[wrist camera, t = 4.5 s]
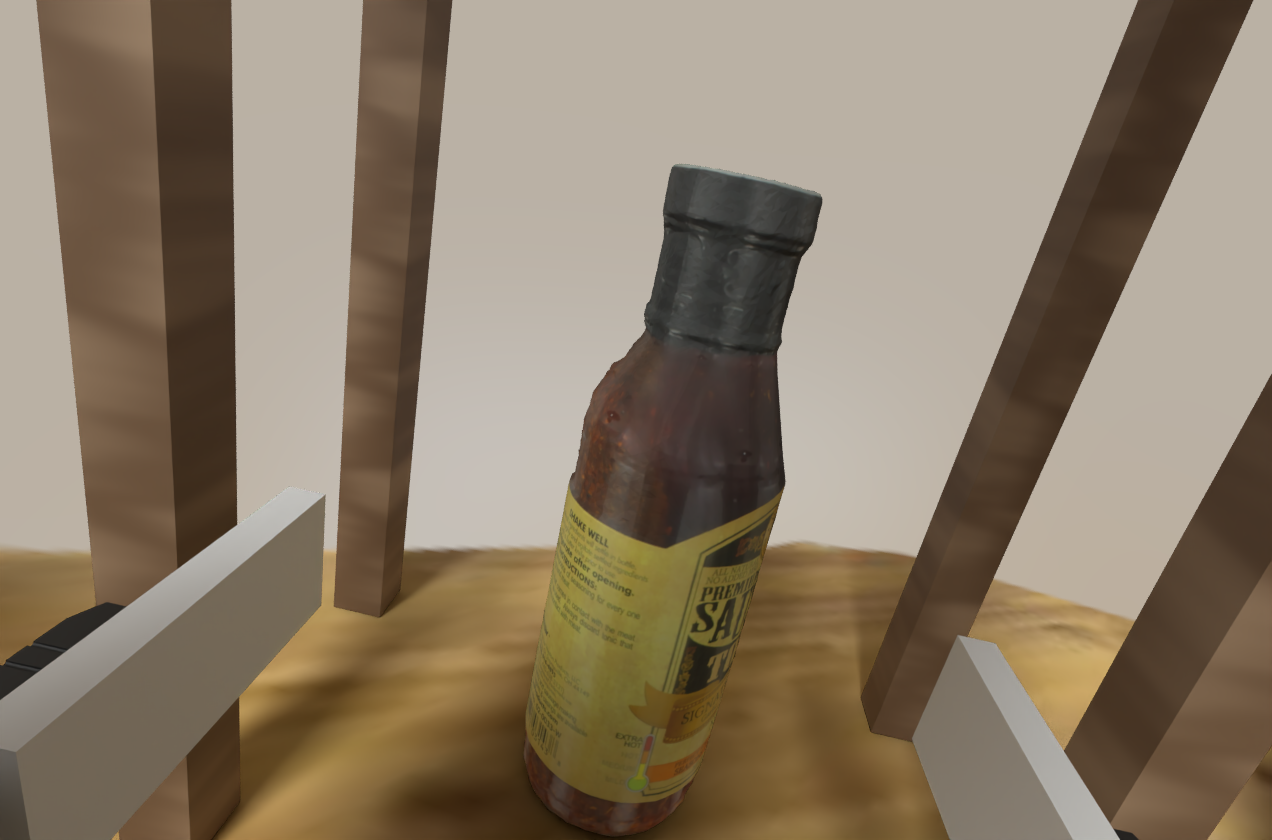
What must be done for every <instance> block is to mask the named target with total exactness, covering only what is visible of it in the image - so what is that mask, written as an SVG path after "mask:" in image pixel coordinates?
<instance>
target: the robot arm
mask: <svg viewBox="0 0 1272 840" xmlns="http://www.w3.org/2000/svg"><path fill="white" fill-rule="evenodd" d="M324 518H325V494H321V493H317V492H312V491H308V490H303V489H299V488H295V487H290V486H289V487H288V488H286V489H285V490H284V491H282V492H281V493H280V494H279V495H277V496H276V497H274V498H273V499H272V500H270V501H269V502H268V503H266V504H265V505H264V506H262V507H261V508H259V509H258V510H257V511H255V512H254V513H253V514H251V515H250V516H249V517H247V518H246V519H245V520H243V521H242V522H240V523H239V524H238V525H236V526H235V527H234V528H232V529H231V530H230V531H228V532H227V533H226V534H224V535H223V536H222V537H220V538H219V539H217V540H216V541H215V542H213V543H212V544H211V545H209V546H208V547H207V548H205V549H204V550H203V551H201V552H200V553H199V554H197V555H196V556H194V557H193V558H192V559H190V560H189V561H188V562H186V563H185V564H184V565H182V566H181V567H180V568H178V569H177V570H176V571H174V572H173V573H171V574H170V575H169V576H167V577H166V578H165V579H163V580H162V581H161V582H159V583H158V584H157V585H155V586H154V587H153V588H151V589H150V590H149V591H147V592H146V593H144V594H143V595H142V596H140V597H139V598H138V599H136V600H135V601H134V602H132V603H131V604H130V605H128V606H123V605H118V604H114V603H109V602H105V603H103V604H101V605H98V606H96V607H93V608H91V609H88V610H86V611H84V612H81V613H79V614H76V615H74V616H71V617H69V618H67V619H65V620H64V621H62V622H61V623H59V624H58V625H56V626H55V627H53V628H52V629H51V630H49V631H48V632H46V633H45V634H43V635H42V636H40V637H39V638H38V639H36V640H35V641H34V643H33V645H32V646H26V647H24V648H23V649H22V650H20V651H19V652H17V653H16V654H14V655H13V656H11V657H10V658H8V659H7V660H6V663H5V664H4V665H3V666H1V665H0V840H111V839H112V838H113V837H114V835H115V834H116V833H117V832H118V831H119V830H120V829H121V828H122V827H123V825H124V824H125V823H126V822H127V821H128V820H129V819H130V818H131V817H132V815H133V814H134V813H135V812H136V811H137V810H138V809H139V808H140V807H141V805H142V804H143V803H144V802H145V801H146V800H147V799H148V798H149V796H150V795H151V794H152V793H153V792H154V791H155V790H156V789H157V788H158V786H159V785H160V784H161V783H162V782H163V781H164V780H165V779H166V778H167V776H168V775H169V774H170V773H171V772H172V771H173V770H174V769H175V768H176V766H177V765H178V764H179V763H180V762H181V761H182V760H183V759H184V757H185V756H186V755H187V754H188V753H189V752H190V751H191V750H192V749H193V747H194V746H195V745H196V744H197V743H198V742H199V741H200V740H201V739H202V737H203V736H204V735H205V734H206V733H207V732H208V731H209V730H210V729H211V727H212V726H213V725H214V724H215V723H216V722H217V721H218V720H219V719H220V717H221V716H222V715H223V714H224V713H225V712H226V711H227V710H228V708H229V707H230V706H231V705H232V704H233V703H234V702H235V701H236V700H237V698H238V697H239V696H240V695H241V694H242V693H243V692H244V691H245V690H246V688H247V687H248V686H249V685H250V684H251V683H252V682H253V681H254V680H255V678H256V677H257V676H258V675H259V674H260V673H261V672H262V671H263V669H264V668H265V667H266V666H267V665H268V664H269V663H270V662H271V661H272V659H273V658H274V657H275V656H276V655H277V654H278V653H279V652H280V651H281V649H282V648H283V647H284V646H285V645H286V644H287V643H288V642H289V641H290V639H291V638H292V637H293V636H294V635H295V634H296V633H297V632H298V631H299V629H300V628H301V627H302V626H303V625H304V624H305V623H306V622H307V620H308V619H309V618H310V617H311V616H312V615H313V614H314V613H315V612H316V610H317V609H318V608H319V607H320V606H321V597H322V571H323V545H324ZM912 741H913V743H914V746H915V749H916V751H917V754H918V756H919V759H920V762H921V764H922V767H923V770H924V772H925V775H926V778H927V780H928V783H929V786H930V788H931V791H932V794H933V796H934V799H935V802H936V804H937V807H938V810H939V812H940V815H941V818H942V820H943V823H944V826H945V828H946V831H947V834H948V836H949V839H950V840H1139V839H1138V838H1137V837H1136V836H1135V835H1134V834H1133V833H1131V832H1126V831H1122V830H1117V829H1113V828H1112V826H1111V825H1110V823H1109V822H1108V820H1107V818H1106V817H1105V815H1104V814H1103V812H1102V811H1101V809H1100V807H1099V806H1098V804H1097V803H1096V801H1095V800H1094V798H1093V796H1092V795H1091V793H1090V792H1089V790H1088V789H1087V787H1086V785H1085V784H1084V782H1083V781H1082V779H1081V778H1080V776H1079V774H1078V773H1077V771H1076V770H1075V768H1074V766H1073V765H1072V763H1071V762H1070V760H1069V759H1068V757H1067V755H1066V754H1065V752H1064V751H1063V749H1062V748H1061V746H1060V744H1059V743H1058V741H1057V740H1056V738H1055V737H1054V735H1053V733H1052V732H1051V730H1050V729H1049V727H1048V726H1047V724H1046V722H1045V721H1044V719H1043V718H1042V716H1041V715H1040V713H1039V711H1038V710H1037V708H1036V707H1035V705H1034V703H1033V702H1032V700H1031V699H1030V697H1029V696H1028V694H1027V692H1026V691H1025V689H1024V688H1023V686H1022V685H1021V683H1020V681H1019V680H1018V678H1017V677H1016V675H1015V674H1014V672H1013V670H1012V669H1011V667H1010V666H1009V664H1008V663H1007V661H1006V659H1005V658H1004V656H1003V655H1002V653H1001V651H1000V650H999V648H998V647H997V645H996V644H995V643H992V642H987V641H983V640H978V639H974V638H969V637H965V636H960V635H957V638H956V640H955V642H954V644H953V647H952V649H951V651H950V653H949V656H948V658H947V660H946V663H945V665H944V667H943V669H942V672H941V674H940V676H939V678H938V681H937V683H936V685H935V687H934V690H933V692H932V694H931V696H930V699H929V701H928V703H927V705H926V708H925V710H924V712H923V714H922V717H921V719H920V721H919V724H918V726H917V728H916V730H915V733H914V735H913V737H912Z"/></svg>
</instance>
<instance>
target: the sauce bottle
mask: <svg viewBox="0 0 1272 840" xmlns="http://www.w3.org/2000/svg"><path fill="white" fill-rule="evenodd" d="M821 206H822V197H821V195H820V194H819V193H817V192H815V191H810V190H805V189H802V188H799V187H796V186H792V185H788V184H786V183H781V182H778V181H775V180H767V179H764V178H760V177H755V176H750V175H746V174H739V173H735V172H730V171H725V170H721V169H712V168H708V167H701V166H696V165H689V164H676V165H674V166H673V167H672V169H671V173H670V177H669V181H668V187H667V192H666V197H665V203H664V209H663V216H664V240H663V244H662V249H661V254H660V258H659V264H658V269H657V273H656V277H655V282H654V287H653V290H652V296H651V299H650V301H649V302H648V303H647V305H646V309H645V313H644V317H645V320H644V322H645V325H646V329H645V332H644V333H643V335H642V336H641V337H640V338H639V339H638V340H637V341H636V342H635V343H634V344H633V346H632V348H631V349H630V350H629V352H628V353H627V355H626V356H625V357H624V358H622V359H621V360H619V361H617V362H614V363H613V364H612V365H611V367H610V370H609V371H607V373H606V375H605V377H604V378H603V379H602V380H601V382H600V383H599V385H598V386H597V387H596V389H595V390H594V392H593V395H592V399H591V402H590V406H589V408H588V410H587V412H586V415H585V418H584V424H583V430H582V438H581V446H580V450H579V457H578V461H577V466H576V471H575V472H574V473H573V474H572V476H571V478H570V481H569V485H568V491H567V496H566V502H565V507H564V512H563V517H562V522H561V527H560V533H559V538H558V543H557V548H556V554H555V559H554V564H553V570H552V575H551V581H550V586H549V591H548V596H547V601H546V606H545V611H544V617H543V623H542V628H541V633H540V637H539V642H538V647H537V653H536V658H535V664H534V669H533V675H532V680H531V686H530V692H529V697H528V703H527V709H526V732H525V742H524V760H525V762H526V768H527V772H528V776H529V781H530V783H531V786H532V787H533V789H534V791H535V793H536V794H537V795H538V796H539V798H540V799H541V800H542V801H543V803H544V805H545V806H546V807H547V809H549V810H550V811H552V812H553V813H555V814H557V815H558V816H559V817H560V818H562V819H563V820H564V821H565V822H566V823H570V824H573V825H575V826H578V827H580V828H582V829H584V830H586V831H591V832H595V833H598V834H601V835H606V836H624V835H632V834H635V833H640V832H643V831H647V830H649V829H650V828H652V827H654V826H656V825H657V824H659V823H660V822H662V821H663V820H665V818H666V817H668V816H669V815H670V814H671V813H673V812H674V811H675V809H676V808H677V806H679V805H680V804H681V803H682V802H683V800H684V796H685V793H686V792H687V790H688V788H689V787H690V785H691V784H692V782H693V778H694V776H695V775H696V773H697V771H698V770H699V768H700V765H701V763H702V760H703V757H704V753H705V750H706V747H707V743H708V740H709V737H710V733H711V730H712V727H713V724H714V721H715V717H716V714H717V711H718V708H719V704H720V701H721V698H722V694H723V691H724V687H725V684H726V680H727V677H728V674H729V671H730V668H731V664H732V661H733V659H734V657H735V652H736V648H737V645H738V642H739V638H740V634H741V630H742V628H743V625H744V622H745V617H746V614H747V612H748V609H749V605H750V602H751V599H752V595H753V592H754V588H755V584H756V582H757V578H758V574H759V570H760V567H761V564H762V560H763V557H764V554H765V550H766V547H767V544H768V540H769V537H770V533H771V530H772V527H773V524H774V521H775V518H776V514H777V510H778V506H779V503H780V499H781V496H782V493H783V490H784V486H785V472H784V462H783V451H782V436H781V422H780V421H781V420H780V405H779V390H778V376H777V351H778V348H779V346H780V345H781V343H782V340H781V333H782V326H783V322H784V318H785V315H786V310H787V308H788V303H789V299H790V296H791V293H792V291H793V288H794V282H795V277H796V274H797V269H798V266H799V263H800V260H801V257H802V256H803V255H804V253H805V252H806V251H807V250H808V248H809V247H810V246H811V245H812V243H813V240H814V236H815V232H816V229H817V222H818V217H819V213H820V209H821Z"/></svg>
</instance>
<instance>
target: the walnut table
mask: <svg viewBox="0 0 1272 840" xmlns="http://www.w3.org/2000/svg"><path fill="white" fill-rule="evenodd" d="M36 1H37V11H38V21H39V32H40V42H41V52H42V62H43V72H44V82H45V92H46V102H47V112H48V122H49V132H50V142H51V153H52V162H53V173H54V182H55V192H56V202H57V213H58V223H59V233H60V243H61V253H62V263H63V273H64V284H65V293H66V303H67V313H68V323H69V334H70V344H71V354H72V364H73V374H74V384H75V395H76V404H77V415H78V425H79V435H80V445H81V455H82V465H83V475H84V485H85V496H86V505H87V515H88V526H89V535H90V546H91V556H92V566H93V576H94V586H95V596H96V606H98V605H101V604H103V603H105V602H109V603H114V604H118V605H123V606H128V605H130V604H131V603H132V602H134V601H135V600H136V599H138V598H139V597H140V596H142V595H143V594H144V593H146V592H147V591H149V590H150V589H151V588H153V587H154V586H155V585H157V584H158V583H159V582H161V581H162V580H163V579H165V578H166V577H167V576H169V575H170V574H171V573H173V572H174V571H176V570H177V569H178V568H180V567H181V566H182V565H184V564H185V563H186V562H188V561H189V560H190V559H192V558H193V557H194V556H196V555H197V554H199V553H200V552H201V551H203V550H204V549H205V548H207V547H208V546H209V545H211V544H212V543H213V542H215V541H216V540H217V539H219V538H220V537H222V536H223V535H224V534H226V533H227V532H228V531H230V530H231V529H232V528H234V527H235V526H236V525H237V473H236V472H237V468H236V381H235V379H236V377H235V295H234V294H235V291H234V290H235V288H234V206H233V205H234V200H233V117H232V115H233V114H232V113H233V110H232V26H231V25H232V24H231V0H36ZM1252 2H1253V0H1138V2H1137V5H1136V7H1135V10H1134V12H1133V15H1132V17H1131V20H1130V22H1129V25H1128V27H1127V30H1126V32H1125V35H1124V37H1123V40H1122V42H1121V45H1120V47H1119V50H1118V53H1117V55H1116V58H1115V60H1114V63H1113V65H1112V68H1111V70H1110V72H1109V75H1108V77H1107V80H1106V83H1105V85H1104V88H1103V90H1102V93H1101V95H1100V98H1099V100H1098V103H1097V105H1096V108H1095V110H1094V113H1093V115H1092V118H1091V120H1090V123H1089V125H1088V128H1087V130H1086V133H1085V135H1084V138H1083V140H1082V143H1081V145H1080V148H1079V150H1078V153H1077V155H1076V158H1075V161H1074V163H1073V165H1072V168H1071V170H1070V173H1069V176H1068V178H1067V181H1066V183H1065V186H1064V188H1063V191H1062V193H1061V196H1060V198H1059V201H1058V203H1057V206H1056V208H1055V211H1054V213H1053V216H1052V218H1051V221H1050V223H1049V226H1048V228H1047V231H1046V233H1045V236H1044V239H1043V241H1042V243H1041V246H1040V248H1039V251H1038V253H1037V256H1036V258H1035V261H1034V264H1033V266H1032V269H1031V271H1030V274H1029V276H1028V279H1027V281H1026V284H1025V286H1024V289H1023V291H1022V294H1021V296H1020V299H1019V301H1018V304H1017V306H1016V309H1015V311H1014V314H1013V316H1012V319H1011V321H1010V324H1009V326H1008V329H1007V332H1006V334H1005V337H1004V339H1003V341H1002V344H1001V347H1000V349H999V351H998V354H997V356H996V359H995V362H994V364H993V367H992V369H991V372H990V374H989V377H988V379H987V382H986V384H985V387H984V390H983V392H982V394H981V397H980V399H979V402H978V405H977V407H976V409H975V412H974V414H973V417H972V420H971V422H970V424H969V427H968V429H967V432H966V434H965V437H964V439H963V442H962V445H961V447H960V449H959V452H958V455H957V457H956V460H955V462H954V465H953V467H952V470H951V472H950V475H949V477H948V480H947V482H946V485H945V487H944V490H943V492H942V495H941V497H940V500H939V502H938V505H937V508H936V510H935V512H934V515H933V518H932V520H931V522H930V525H929V527H928V530H927V532H926V535H925V538H924V540H923V543H922V545H921V548H920V550H919V553H918V555H917V558H916V560H915V563H914V565H913V568H912V570H911V573H910V575H909V578H908V580H907V583H906V585H905V588H904V590H903V593H902V595H901V598H900V600H899V603H898V605H897V608H896V610H895V613H894V615H893V618H892V620H891V623H890V625H889V628H888V630H887V633H886V635H885V638H884V640H883V643H882V646H881V648H880V651H879V653H878V656H877V658H876V661H875V663H874V666H873V668H872V671H871V673H870V676H869V678H868V681H867V683H866V686H865V688H864V691H863V693H862V696H861V700H862V703H863V706H864V710H865V713H866V716H867V720H868V723H869V727H870V730H871V732H873V733H877V734H881V735H885V736H890V737H894V738H898V739H903V740H907V741H911V742H913V741H912V737H913V735H914V733H915V730H916V728H917V726H918V724H919V721H920V719H921V717H922V714H923V712H924V710H925V708H926V705H927V703H928V701H929V699H930V696H931V694H932V692H933V690H934V687H935V685H936V683H937V681H938V678H939V676H940V674H941V672H942V669H943V667H944V665H945V663H946V660H947V658H948V656H949V653H950V651H951V649H952V647H953V644H954V642H955V640H956V638H957V635H960V636H965V637H967V636H968V633H969V631H970V629H971V627H972V625H973V622H974V620H975V618H976V616H977V613H978V611H979V609H980V607H981V605H982V602H983V600H984V598H985V596H986V593H987V591H988V589H989V587H990V585H991V582H992V580H993V578H994V575H995V573H996V571H997V569H998V567H999V565H1000V562H1001V560H1002V557H1003V556H1004V553H1005V551H1006V549H1007V546H1008V544H1009V542H1010V540H1011V538H1012V536H1013V533H1014V531H1015V529H1016V526H1017V524H1018V522H1019V520H1020V518H1021V516H1022V513H1023V511H1024V509H1025V507H1026V505H1027V502H1028V500H1029V498H1030V495H1031V493H1032V491H1033V489H1034V487H1035V485H1036V482H1037V480H1038V478H1039V475H1040V473H1041V471H1042V469H1043V467H1044V464H1045V462H1046V460H1047V458H1048V456H1049V453H1050V451H1051V449H1052V447H1053V444H1054V442H1055V440H1056V438H1057V435H1058V433H1059V431H1060V429H1061V427H1062V424H1063V422H1064V420H1065V418H1066V416H1067V413H1068V411H1069V409H1070V407H1071V404H1072V402H1073V400H1074V398H1075V395H1076V393H1077V391H1078V389H1079V387H1080V384H1081V382H1082V380H1083V378H1084V376H1085V373H1086V371H1087V369H1088V367H1089V364H1090V362H1091V360H1092V358H1093V356H1094V353H1095V351H1096V349H1097V346H1098V344H1099V342H1100V340H1101V338H1102V336H1103V333H1104V331H1105V329H1106V327H1107V324H1108V322H1109V320H1110V318H1111V316H1112V313H1113V311H1114V309H1115V307H1116V304H1117V302H1118V300H1119V298H1120V295H1121V293H1122V291H1123V289H1124V287H1125V284H1126V282H1127V280H1128V278H1129V275H1130V273H1131V271H1132V269H1133V267H1134V264H1135V262H1136V260H1137V258H1138V255H1139V253H1140V251H1141V249H1142V247H1143V244H1144V242H1145V240H1146V238H1147V235H1148V233H1149V231H1150V229H1151V227H1152V224H1153V222H1154V220H1155V218H1156V215H1157V213H1158V211H1159V209H1160V207H1161V204H1162V202H1163V200H1164V198H1165V195H1166V193H1167V191H1168V189H1169V186H1170V184H1171V182H1172V180H1173V178H1174V175H1175V173H1176V171H1177V169H1178V167H1179V164H1180V162H1181V160H1182V157H1183V155H1184V153H1185V151H1186V149H1187V146H1188V144H1189V142H1190V140H1191V138H1192V135H1193V133H1194V131H1195V129H1196V127H1197V124H1198V122H1199V120H1200V118H1201V115H1202V113H1203V111H1204V109H1205V106H1206V104H1207V102H1208V100H1209V98H1210V95H1211V93H1212V91H1213V89H1214V86H1215V84H1216V82H1217V80H1218V78H1219V75H1220V73H1221V71H1222V69H1223V67H1224V64H1225V62H1226V60H1227V57H1228V55H1229V53H1230V51H1231V49H1232V46H1233V44H1234V42H1235V40H1236V38H1237V35H1238V33H1239V31H1240V29H1241V26H1242V24H1243V22H1244V20H1245V17H1246V15H1247V13H1248V11H1249V9H1250V6H1251V4H1252ZM451 8H452V0H363V15H362V37H361V57H360V78H359V99H358V119H357V141H356V160H355V181H354V202H353V203H354V204H353V223H352V243H351V244H352V245H351V265H350V285H349V305H348V306H349V308H348V326H347V348H346V368H345V389H344V409H343V432H342V451H341V472H340V492H339V514H338V533H337V554H336V575H335V595H334V607H338V608H342V609H346V610H351V611H355V612H359V613H364V614H368V615H372V616H376V617H380V616H381V615H382V614H383V612H384V611H385V610H386V608H387V607H388V606H389V604H390V603H391V602H392V600H393V599H394V598H395V596H396V595H397V594H398V592H399V591H400V586H401V574H402V563H403V552H404V540H405V528H406V518H407V506H408V495H409V483H410V472H411V461H412V450H413V439H414V427H415V416H416V404H417V393H418V382H419V371H420V359H421V348H422V337H423V325H424V314H425V303H426V291H427V280H428V269H429V258H430V246H431V235H432V224H433V211H434V201H435V190H436V178H437V167H438V155H439V144H440V133H441V121H442V111H443V98H444V88H445V76H446V65H447V54H448V42H449V32H450V20H451ZM1271 746H1272V374H1271V376H1270V378H1269V380H1268V382H1267V383H1266V385H1265V387H1264V389H1263V391H1262V392H1261V394H1260V396H1259V398H1258V400H1257V402H1256V403H1255V405H1254V407H1253V409H1252V411H1251V412H1250V414H1249V416H1248V418H1247V420H1246V421H1245V423H1244V425H1243V427H1242V429H1241V431H1240V432H1239V434H1238V436H1237V438H1236V440H1235V442H1234V443H1233V445H1232V447H1231V449H1230V450H1229V452H1228V454H1227V456H1226V458H1225V460H1224V461H1223V463H1222V465H1221V467H1220V469H1219V470H1218V472H1217V474H1216V476H1215V478H1214V480H1213V481H1212V483H1211V485H1210V487H1209V489H1208V490H1207V492H1206V494H1205V496H1204V498H1203V499H1202V501H1201V503H1200V505H1199V507H1198V509H1197V510H1196V512H1195V514H1194V516H1193V518H1192V519H1191V521H1190V523H1189V525H1188V527H1187V529H1186V530H1185V532H1184V534H1183V536H1182V538H1181V540H1180V541H1179V543H1178V545H1177V547H1176V548H1175V550H1174V552H1173V554H1172V556H1171V558H1170V559H1169V561H1168V563H1167V565H1166V567H1165V569H1164V571H1163V572H1162V574H1161V576H1160V578H1159V579H1158V581H1157V583H1156V585H1155V587H1154V588H1153V590H1152V592H1151V594H1150V596H1149V597H1148V599H1147V601H1146V603H1145V605H1144V607H1143V608H1142V610H1141V612H1140V614H1139V616H1138V617H1137V619H1136V621H1135V623H1134V625H1133V627H1132V628H1131V630H1130V632H1129V634H1128V636H1127V637H1126V639H1125V641H1124V643H1123V645H1122V646H1121V648H1120V650H1119V652H1118V654H1117V656H1116V657H1115V659H1114V661H1113V663H1112V665H1111V666H1110V668H1109V670H1108V672H1107V674H1106V676H1105V677H1104V679H1103V681H1102V683H1101V685H1100V686H1099V688H1098V690H1097V692H1096V694H1095V696H1094V697H1093V699H1092V701H1091V703H1090V705H1089V706H1088V708H1087V710H1086V712H1085V714H1084V715H1083V717H1082V719H1081V721H1080V723H1079V725H1078V726H1077V728H1076V730H1075V732H1074V734H1073V735H1072V737H1071V739H1070V741H1069V743H1068V745H1067V746H1066V748H1065V750H1064V752H1065V754H1066V755H1067V757H1068V759H1069V760H1070V762H1071V763H1072V765H1073V766H1074V768H1075V770H1076V771H1077V773H1078V774H1079V776H1080V778H1081V779H1082V781H1083V782H1084V784H1085V785H1086V787H1087V789H1088V790H1089V792H1090V793H1091V795H1092V796H1093V798H1094V800H1095V801H1096V803H1097V804H1098V806H1099V807H1100V809H1101V811H1102V812H1103V814H1104V815H1105V817H1106V818H1107V820H1108V822H1109V823H1110V825H1111V826H1112V828H1113V829H1117V830H1122V831H1126V832H1131V833H1133V834H1134V835H1135V836H1136V837H1137V838H1138V839H1139V840H1207V839H1208V837H1209V836H1210V835H1211V833H1212V832H1213V830H1214V829H1215V827H1216V826H1217V824H1218V823H1219V822H1220V820H1221V819H1222V817H1223V816H1224V814H1225V813H1226V811H1227V810H1228V808H1229V807H1230V806H1231V804H1232V803H1233V801H1234V800H1235V798H1236V797H1237V795H1238V794H1239V793H1240V791H1241V790H1242V788H1243V787H1244V785H1245V784H1246V782H1247V781H1248V780H1249V778H1250V777H1251V775H1252V774H1253V772H1254V771H1255V769H1256V768H1257V766H1258V765H1259V764H1260V762H1261V761H1262V759H1263V758H1264V756H1265V755H1266V753H1267V752H1268V751H1269V749H1270V748H1271ZM239 802H240V733H239V697H238V698H237V700H236V701H235V702H234V703H233V704H232V705H231V706H230V707H229V708H228V710H227V711H226V712H225V713H224V714H223V715H222V716H221V717H220V719H219V720H218V721H217V722H216V723H215V724H214V725H213V726H212V727H211V729H210V730H209V731H208V732H207V733H206V734H205V735H204V736H203V737H202V739H201V740H200V741H199V742H198V743H197V744H196V745H195V746H194V747H193V749H192V750H191V751H190V752H189V753H188V754H187V755H186V756H185V757H184V759H183V760H182V761H181V762H180V763H179V764H178V765H177V766H176V768H175V769H174V770H173V771H172V772H171V773H170V774H169V775H168V776H167V778H166V779H165V780H164V781H163V782H162V783H161V784H160V785H159V786H158V788H157V789H156V790H155V791H154V792H153V793H152V794H151V795H150V796H149V798H148V799H147V800H146V801H145V802H144V803H143V804H142V805H141V807H140V808H139V809H138V810H137V811H136V812H135V813H134V814H133V815H132V817H131V818H130V819H129V820H128V821H127V822H126V823H125V824H124V825H123V827H122V828H121V829H120V830H119V838H120V840H211V839H212V838H213V837H214V835H215V834H216V833H217V831H218V830H219V829H220V827H221V826H222V825H223V823H224V822H225V821H226V819H227V818H228V817H229V816H230V814H231V813H232V812H233V810H234V809H235V808H236V806H237V805H238V804H239Z"/></svg>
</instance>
